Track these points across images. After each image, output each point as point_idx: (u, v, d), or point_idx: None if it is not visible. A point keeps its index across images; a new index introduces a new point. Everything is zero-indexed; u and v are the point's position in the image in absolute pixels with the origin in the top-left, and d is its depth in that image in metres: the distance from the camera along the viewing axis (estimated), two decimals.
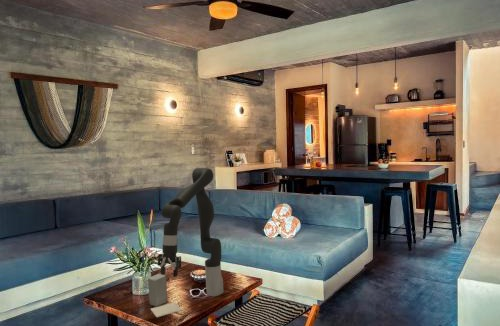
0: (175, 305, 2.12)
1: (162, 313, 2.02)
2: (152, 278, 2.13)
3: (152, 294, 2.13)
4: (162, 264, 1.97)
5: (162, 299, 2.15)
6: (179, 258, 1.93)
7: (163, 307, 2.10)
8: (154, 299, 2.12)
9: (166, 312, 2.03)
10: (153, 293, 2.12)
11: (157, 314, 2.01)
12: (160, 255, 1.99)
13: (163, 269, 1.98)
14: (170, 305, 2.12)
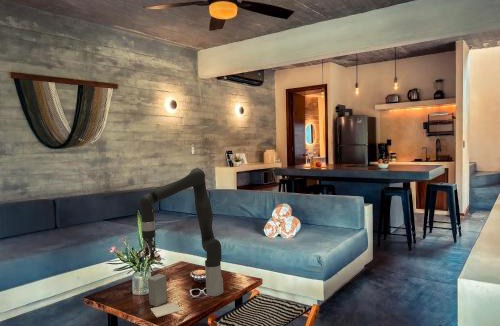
0: (175, 305, 2.12)
1: (162, 313, 2.02)
2: (152, 278, 2.13)
3: (152, 294, 2.13)
4: (145, 246, 2.22)
5: (162, 299, 2.15)
6: (152, 242, 2.13)
7: (163, 307, 2.10)
8: (154, 299, 2.12)
9: (166, 312, 2.03)
10: (153, 293, 2.12)
11: (157, 314, 2.01)
12: (144, 238, 2.23)
13: (147, 251, 2.23)
14: (170, 305, 2.12)
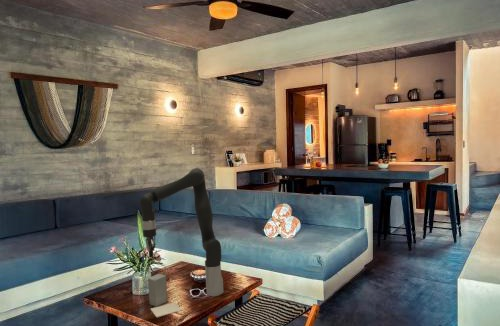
0: (175, 305, 2.12)
1: (162, 313, 2.02)
2: (152, 278, 2.13)
3: (152, 294, 2.13)
4: (148, 247, 2.24)
5: (162, 299, 2.15)
6: (152, 245, 2.18)
7: (163, 307, 2.10)
8: (154, 299, 2.12)
9: (166, 312, 2.03)
10: (153, 293, 2.12)
11: (157, 314, 2.01)
12: None
13: None
14: (170, 305, 2.12)
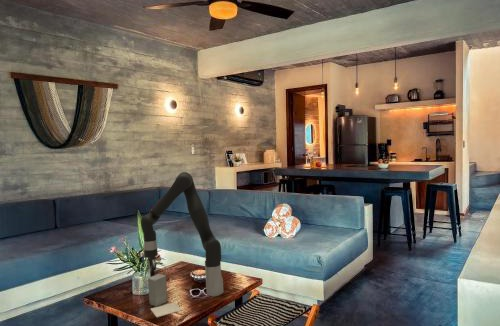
0: (175, 305, 2.12)
1: (162, 313, 2.02)
2: (152, 278, 2.13)
3: (152, 294, 2.13)
4: (149, 267, 2.24)
5: (162, 299, 2.15)
6: (154, 265, 2.19)
7: (163, 307, 2.10)
8: (154, 299, 2.12)
9: (166, 312, 2.03)
10: (153, 293, 2.12)
11: (157, 314, 2.01)
12: None
13: None
14: (170, 305, 2.12)
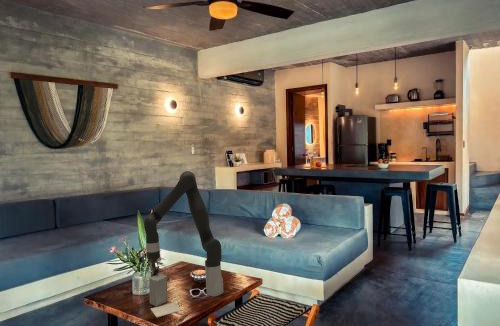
0: (175, 305, 2.12)
1: (162, 313, 2.02)
2: (153, 278, 2.12)
3: (153, 294, 2.12)
4: (152, 269, 2.20)
5: (163, 299, 2.15)
6: (156, 268, 2.14)
7: (163, 307, 2.10)
8: (155, 299, 2.12)
9: (166, 312, 2.03)
10: (154, 293, 2.12)
11: (157, 314, 2.01)
12: (150, 262, 2.23)
13: (154, 275, 2.20)
14: (170, 305, 2.12)
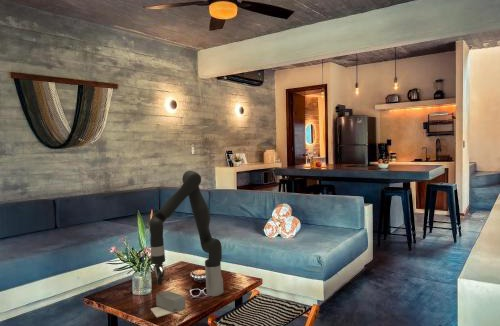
0: None
1: (162, 313, 2.02)
2: (175, 305, 2.03)
3: (163, 304, 2.07)
4: (156, 274, 2.11)
5: None
6: (161, 272, 2.06)
7: None
8: (160, 305, 2.09)
9: (166, 312, 2.03)
10: (164, 306, 2.07)
11: (157, 314, 2.01)
12: (154, 266, 2.15)
13: None
14: None
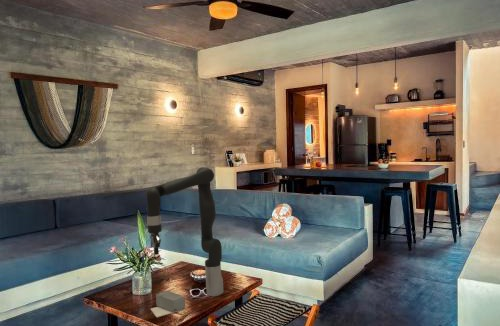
0: None
1: (162, 313, 2.02)
2: (175, 305, 2.03)
3: (163, 304, 2.07)
4: (153, 244, 2.13)
5: None
6: (158, 241, 2.08)
7: None
8: (160, 306, 2.09)
9: (166, 312, 2.03)
10: (164, 306, 2.07)
11: (157, 314, 2.01)
12: (151, 236, 2.17)
13: None
14: None
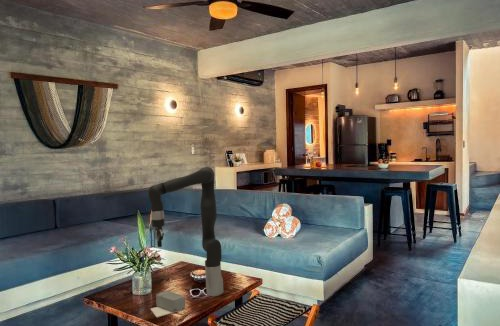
0: None
1: (162, 313, 2.02)
2: (175, 305, 2.03)
3: (163, 304, 2.07)
4: (156, 237, 2.28)
5: None
6: (161, 235, 2.23)
7: None
8: (160, 306, 2.09)
9: (166, 312, 2.03)
10: (164, 306, 2.07)
11: (157, 314, 2.01)
12: (154, 230, 2.32)
13: None
14: None
